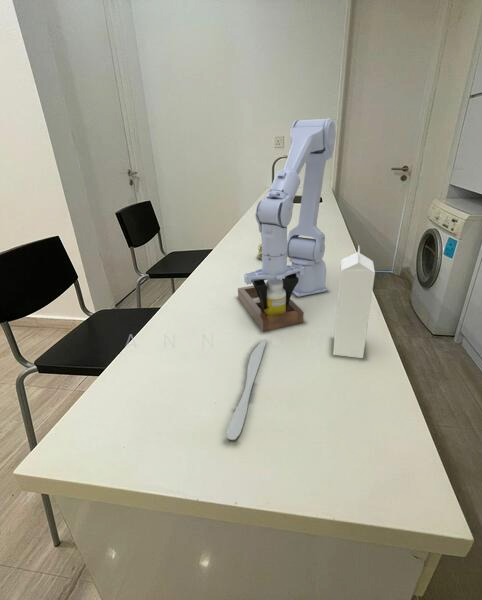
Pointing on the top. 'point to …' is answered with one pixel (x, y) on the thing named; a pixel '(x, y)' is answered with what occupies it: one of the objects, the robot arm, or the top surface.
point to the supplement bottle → (275, 298)
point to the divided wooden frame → (271, 322)
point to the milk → (353, 305)
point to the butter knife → (245, 393)
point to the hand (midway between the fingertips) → (274, 305)
